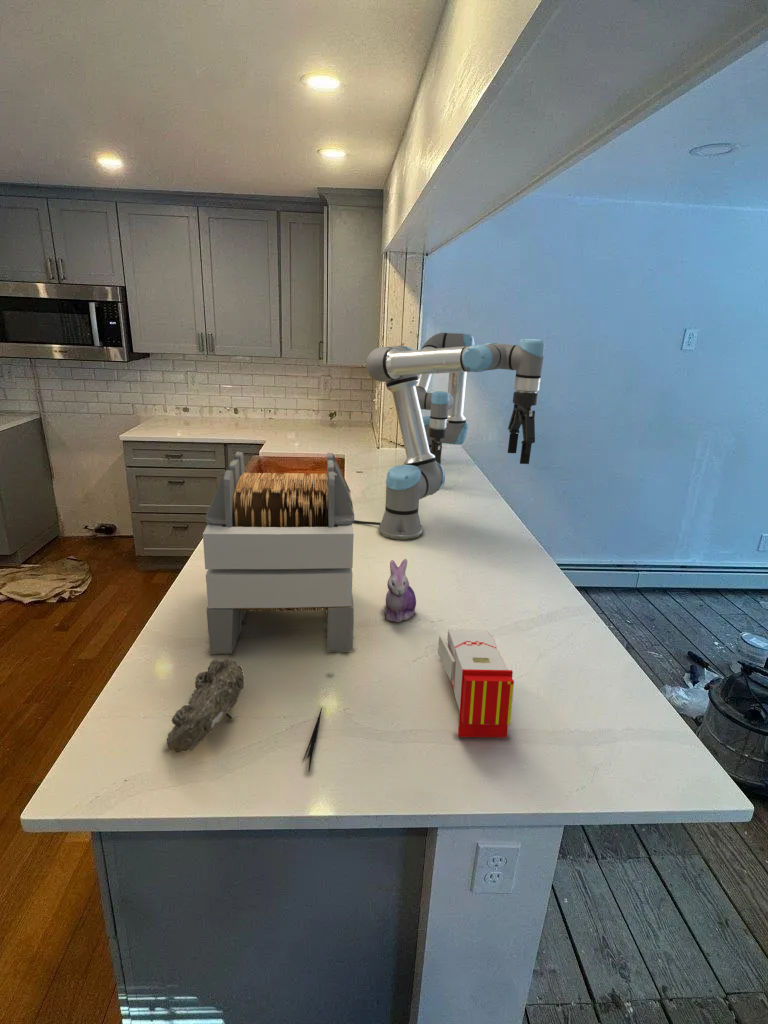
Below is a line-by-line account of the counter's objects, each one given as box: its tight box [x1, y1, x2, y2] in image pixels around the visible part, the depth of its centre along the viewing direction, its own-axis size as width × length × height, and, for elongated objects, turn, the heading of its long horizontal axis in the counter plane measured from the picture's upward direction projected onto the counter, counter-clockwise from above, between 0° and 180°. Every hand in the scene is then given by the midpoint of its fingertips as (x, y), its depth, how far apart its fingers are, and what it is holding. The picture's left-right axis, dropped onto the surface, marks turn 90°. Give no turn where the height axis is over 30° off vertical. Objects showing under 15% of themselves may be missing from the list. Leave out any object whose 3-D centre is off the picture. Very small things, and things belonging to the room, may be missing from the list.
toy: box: [437, 628, 515, 738], centre depth 117 cm, size 12×13×30 cm
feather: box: [301, 673, 332, 771], centre depth 108 cm, size 2×28×2 cm
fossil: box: [166, 658, 245, 754], centre depth 106 cm, size 22×10×15 cm
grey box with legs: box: [202, 451, 355, 655], centre depth 137 cm, size 34×33×41 cm
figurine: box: [384, 558, 417, 623], centre depth 145 cm, size 9×10×15 cm
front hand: (517, 458), depth 182 cm, fingers open, 13 cm apart
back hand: (433, 479), depth 253 cm, fingers closed on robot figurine, 5 cm apart
